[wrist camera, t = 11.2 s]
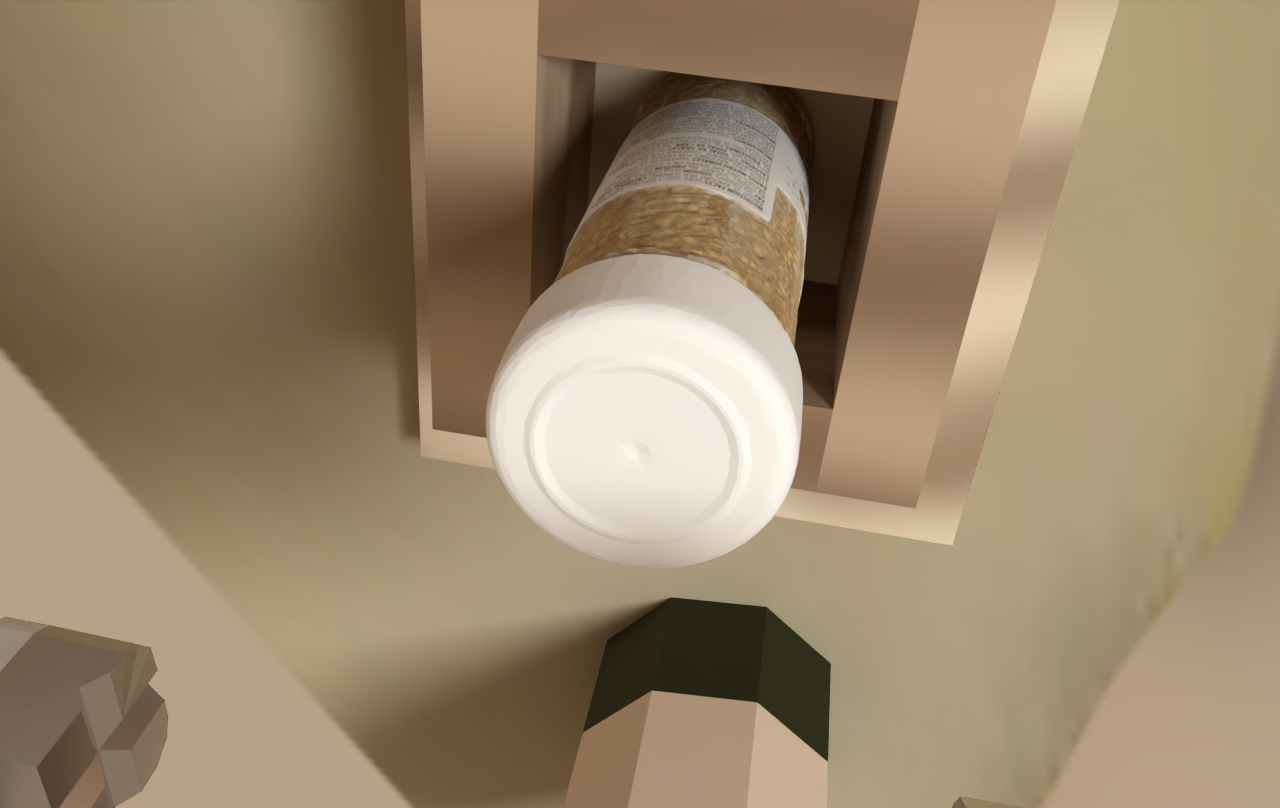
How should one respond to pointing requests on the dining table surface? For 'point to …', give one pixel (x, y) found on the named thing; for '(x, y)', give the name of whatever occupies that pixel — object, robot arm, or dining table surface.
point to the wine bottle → (706, 714)
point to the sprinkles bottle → (668, 337)
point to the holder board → (837, 221)
